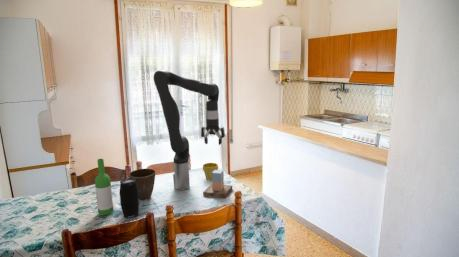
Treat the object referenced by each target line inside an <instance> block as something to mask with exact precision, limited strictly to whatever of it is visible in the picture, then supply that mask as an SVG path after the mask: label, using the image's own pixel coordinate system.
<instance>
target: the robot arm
mask: <svg viewBox="0 0 459 257" xmlns="http://www.w3.org/2000/svg"><path fill="white" fill-rule="evenodd" d="M153 82H154V85H155V88H156V91H157V93H158V97H159V100H160V104H161V108H162V112H163V116H164V120H165V124H166V128H167V132H168V136H169V137H168V138H169V142H170V143H169V144H170V147H171V150H172V152H174V157H173V169H174V170H173V172H174V173H173V175H172V177H173V178H172V179H173V189H175V190H177V191H185V190H188V189H190V171H189V170H190V166H189V158H190V142H189V140H188V138H187V137H186V136H184V135H183V136H182V134H181V130H180V120H181V115H180V111H179V107H178V103H177V102H176V100H175V99H174V97H173V96H172V94H171V92H170V91H171V90H170V88H169V86H176V87H180V88H182V89H184V90H187V91H190V92H193V93H199V94H201V95H203V96H205V97H207V100H206V103H205V109H206V111H205V126H201V129H200V130H201V131H200V132H201V133H200V134H201V135H200V136H201V138H204V144H205V145H208V143H209V138H208V136H211V135H213V136H215V135H216V137H217V138H218V145H219V146H220V145H221V144H222V143H223V142H222V141H223V140H222V139H223V138H225V137H226V135H225V134H226V133H225V127H220V121H219V120H220V118H219V116H220V115H219V104H218V103H219V94H220V89H219V86H218V85H217V84H216V83H206V82H203V81H201V80H198V79H193V78H189V77H185V76H180V75H178V74H176V73H173V72H172V71H168V70H167V69H166V70H165V69H164V70H163V69H161V70H156V71H155V72H154V74H153ZM206 131H207V132H206ZM205 132H206V133H205ZM220 132H221V133H220Z"/></svg>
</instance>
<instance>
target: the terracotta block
mask: <svg viewBox="0 0 459 257" xmlns="http://www.w3.org/2000/svg"><path fill="white" fill-rule="evenodd" d="M224 179H225V178H224ZM224 179H223V180H222V181H221V182H213V181H212V180H211V184H212V190H218V191H221V190H222V189H223V188H224V185H225V184H224V183H225V182H224Z"/></svg>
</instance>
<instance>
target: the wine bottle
mask: <svg viewBox="0 0 459 257" xmlns="http://www.w3.org/2000/svg"><path fill="white" fill-rule="evenodd" d="M104 162H105V161H104V158H98V159H97V170H98V175H96V177H95V178H94V186H95V188H94V189H95V196H96V205H97V207H96V208H97V212H98V214H99V215H101V216H107V215H111V214H112V213H113V212H114V201H113V194H112V193H113V191H112V182H111V178H110V176H109V175H108V174H107V173H106V172H105V170H106V169H105V163H104Z"/></svg>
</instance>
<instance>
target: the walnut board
mask: <svg viewBox="0 0 459 257" xmlns="http://www.w3.org/2000/svg"><path fill="white" fill-rule="evenodd" d="M232 190H233V185H229V184H224V188H223V189H222V190H221V191H218V190H212V183H210V185H208V186H207V188H205V190H203V192H202V194H203V195H202V196H203V197H210V198H211V197H212V198H220V199H226V198H227V197H228V196H229V195H230V193H231V192H232Z"/></svg>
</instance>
